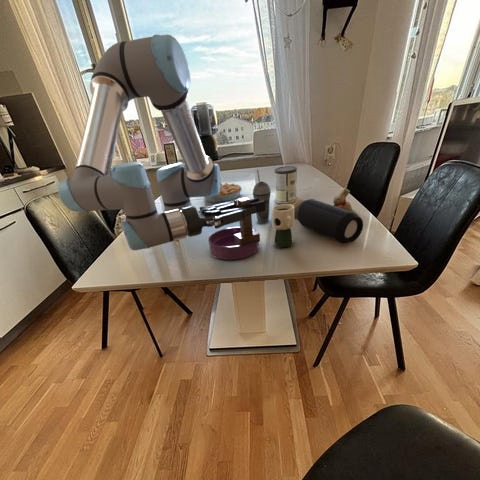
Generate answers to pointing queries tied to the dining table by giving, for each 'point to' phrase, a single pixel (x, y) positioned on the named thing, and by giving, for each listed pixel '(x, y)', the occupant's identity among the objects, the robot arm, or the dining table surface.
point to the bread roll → (296, 205)
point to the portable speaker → (330, 220)
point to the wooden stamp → (246, 228)
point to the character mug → (283, 224)
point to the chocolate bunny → (342, 200)
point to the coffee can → (285, 184)
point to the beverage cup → (262, 193)
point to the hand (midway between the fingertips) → (261, 204)
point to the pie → (226, 193)
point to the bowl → (229, 245)
